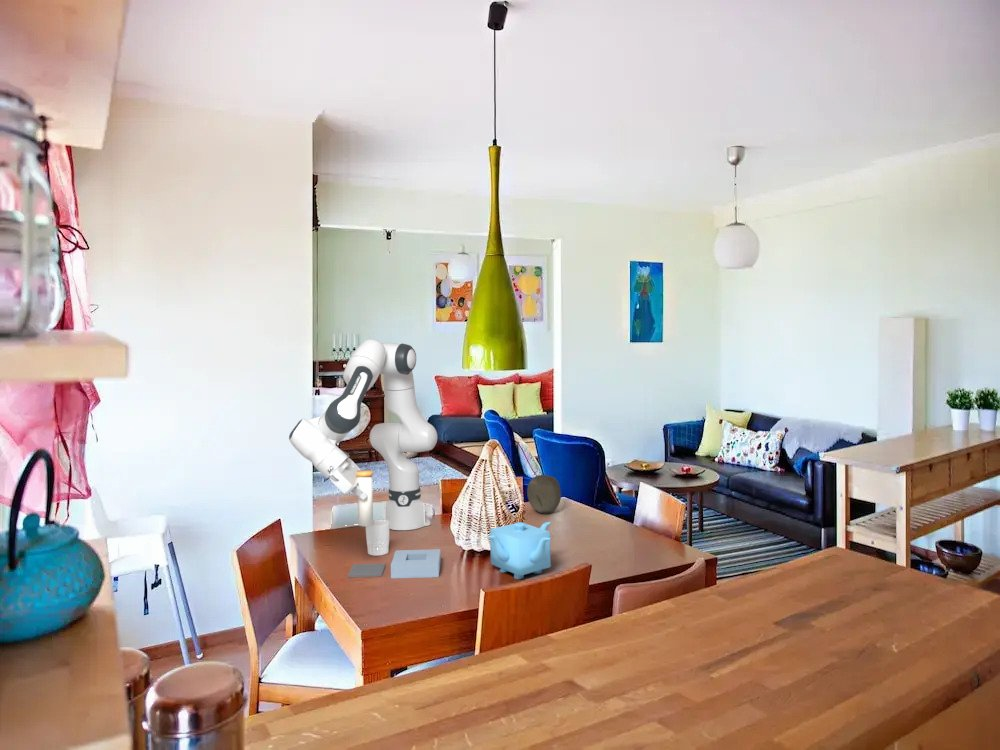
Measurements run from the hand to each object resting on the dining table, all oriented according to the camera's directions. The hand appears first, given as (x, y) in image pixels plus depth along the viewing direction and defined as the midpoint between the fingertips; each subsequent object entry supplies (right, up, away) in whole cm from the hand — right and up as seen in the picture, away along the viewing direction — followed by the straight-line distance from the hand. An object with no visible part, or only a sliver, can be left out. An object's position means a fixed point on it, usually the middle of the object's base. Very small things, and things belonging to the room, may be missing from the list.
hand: (367, 495), depth 209 cm
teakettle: (+47, -23, -2) cm, 52 cm away
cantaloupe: (+58, -19, +68) cm, 91 cm away
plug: (-1, -9, 0) cm, 9 cm away
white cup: (0, -22, +19) cm, 30 cm away
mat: (0, -23, +1) cm, 23 cm away
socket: (+15, -23, +2) cm, 27 cm away
